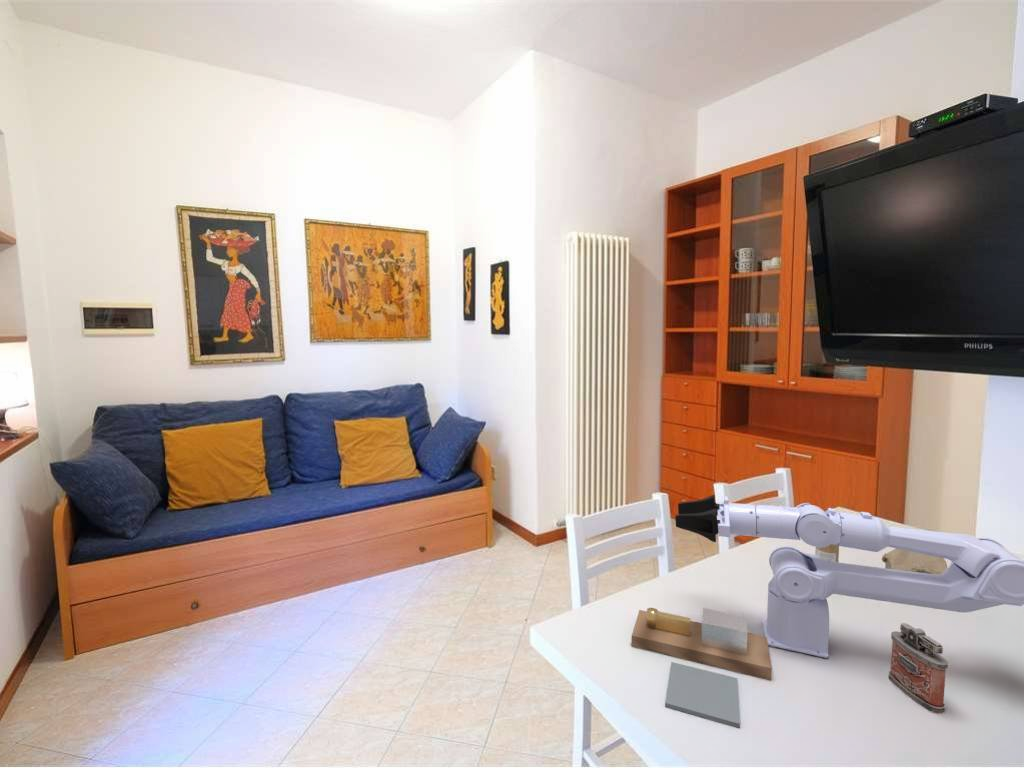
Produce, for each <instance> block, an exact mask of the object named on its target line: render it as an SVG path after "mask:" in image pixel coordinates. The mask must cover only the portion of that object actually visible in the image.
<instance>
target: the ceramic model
mask: <svg viewBox="0 0 1024 768" xmlns="http://www.w3.org/2000/svg"><path fill="white" fill-rule="evenodd" d="M881 561H882V563H884V564H885V565H884V566H885V567H884V568H887V569H895V570H903V571H911V572H919V573H927V574H935V575H940V574H942V573H943V572H944V571H945V570H947V569H948V564H947V561H946V559H945V558H941V557H936V556H931V555H926V554H921V553H916V552H911V551H906V550H902V549H897V548H893V549H892V550H889V552H887V553H886V552H885V553H884V554H882V558H881Z"/></svg>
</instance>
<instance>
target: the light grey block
mask: <svg viewBox="0 0 1024 768" xmlns="http://www.w3.org/2000/svg"><path fill="white" fill-rule="evenodd" d="M701 623H702V644H701V645H704V646H708V647H712V648H717V649H721V650H725V651H730V652H734V653H739V654H743V655H747V633H749V632H748V624H747V617H746V616H744V615H740V614H736V613H735V614H733V613H731V612H725V611H719V610H714V609H711V608H710V609H709V608H705V607H703V608H702V619H701Z"/></svg>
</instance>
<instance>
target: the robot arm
mask: <svg viewBox="0 0 1024 768" xmlns="http://www.w3.org/2000/svg"><path fill="white" fill-rule="evenodd" d="M723 497H724V498H723V501H717V502H716V500H715V498H716V495H714V494H711V495H710V496H708V497H705V498H701V499H697V500H692V501H691V500H690V501H685V502H684V501H683V502H679V503H677V509H678V510H677V511H678V513H677V514H676V515H675V516H674V517H675V518H674V519H675V527H676V528H678V529H682V530H684V531H688V532H692V533H694V534H697V535H700V536H702V537H704V538H706V539H707V540H709V541H711V543H716V542H717V535H718V537H723V538H725V537H726V538H731V535H732V536H733V535H735V536H745V537H746V536H747V537H758V538H767V539H768V538H769V539H781V540H792V541H793V540H794V541H801V540H802V541H803V543H805V544H807V545H809V546H811V547H815V548H816V547H817V548H824V547H827V546H829V545H831V544H833V545H837V546H839V547H843V548H849V549H854V550H855V549H856V550H862V551H867V552H868V551H869V552H874V553H878V552H879V553H880V552H881V551H882V550H884V549H886V548H892V549H896V548H897V549H902V550H906V551H911V552H916V553H921V554H926V555H931V556H936V557H941V558H944V559H945V560H949V561H950V564H949V566H947V568H948V569H947V570H945V571H944V572H943V573H942V574H940V575H935V574H927V573H919V572H911V571H903V570H895V569H887V568H885V567H877V566H870V565H868V566H867V565H862V564H853V563H846V562H845V563H844V562H839V563H838V562H830V561H827V560H825V559H823V558H821V557H818V556H816V555H815V554H813V553H806V552H804V551H801V550H799V549H797V548H795V547H792V546H787V545H786V546H785V545H783V546H779V547H776V548H775V549H774V550H772V551H771V553H770V554H769V557H768V558H769V560H768V563H769V566H770V568H771V571H772V575H773V577H772V578H771V579H770V580H769V582H768V586H767V606H766V607H767V610H766V611H767V612H766V613H767V614H766V619H762V627H763V636H765V637H767V642H768V647H769V646H770V647H773V648H774V647H775V648H779V649H784V650H789V651H793V652H798V653H803V654H807V655H813V656H816V657H821V658H825V659H827V658H829V639H830V638H829V634H830V610H829V603H828V600H827V598H829V597H831V596H832V595H841V596H847V597H852V598H853V597H855V598H860V599H866V600H874V601H881V602H887V603H888V602H889V603H895V604H900V605H901V604H902V605H908V606H914V607H921V608H928V609H935V610H936V609H937V610H943V611H950V612H956V613H971V612H975V611H979V610H984V609H985V610H986V609H988V608H993V607H998V606H1002V605H1008V606H1016V607H1022V606H1024V560H1022V559H1021V558H1020V557H1018V556H1017V555H1015V554H1014V553H1012V552H1010V550H1008V549H1006V548H1005V546H1003V545H1002V544H1001V543H1000V542H998V541H996V540H995V539H991V538H989V537H981V536H980V537H978V536H977V537H976V536H975V535H972V534H968V533H951V532H943V531H934V530H924V529H915V528H906V527H897V526H889V525H886V524H885V523H884V522H883V521H882V520H881V519H880V518H879V517H874V516H872V514H871V513H870V512H867V511H860V512H859V513H860V514H856V513H849V512H842V511H836V509H835V508H831V507H828V508H827V510H826V511H825V510H824V509H822V508H821V507H820V506H817V505H814V504H813V505H812V504H811V503H810V502H804V503H800V504H798V505H796V506H794V507H792V506H782V505H769V504H768V505H765V504H755V503H754V504H750V503H736V502H735V503H733V502H729V496H727V495H726V496H725V495H724V496H723Z"/></svg>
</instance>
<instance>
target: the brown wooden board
mask: <svg viewBox="0 0 1024 768" xmlns="http://www.w3.org/2000/svg"><path fill="white" fill-rule="evenodd" d="M631 633H632V634H631V647H633V648H637V649H641V650H645V651H650V652H654V653H657V654H662V655H666V656H669V657H675V658H678V659H683V660H685V661H691V662H696V663H699V664H703V665H707V666H709V667H716V668H718V669H723V670H726V671H732V672H736V673H740V674H744V675H747V676H748V675H749V676H752V677H756V678H761V679H764V680H769V681H772V673H773V672H772V671H773V670H772V668H773V667H772V663H771V662H772V660H771V655H770V649H769V645H768V642H767V637H765V635H761V634H755V633H751V632H748V633H747V655H743V654H739V653H734V652H730V651H725V650H721V649H717V648H712V647H708V646H704V645H701V644H702V622H700V621H699V622H698V621H694V620H690V636H687V635H683V634H679V633H674V632H670V631H665V630H661V629H656V628H649V627H648V626H647V610H641V609H639V610H638V614H637V617H636V620H635V623H634V627H633V630H632V632H631Z"/></svg>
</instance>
